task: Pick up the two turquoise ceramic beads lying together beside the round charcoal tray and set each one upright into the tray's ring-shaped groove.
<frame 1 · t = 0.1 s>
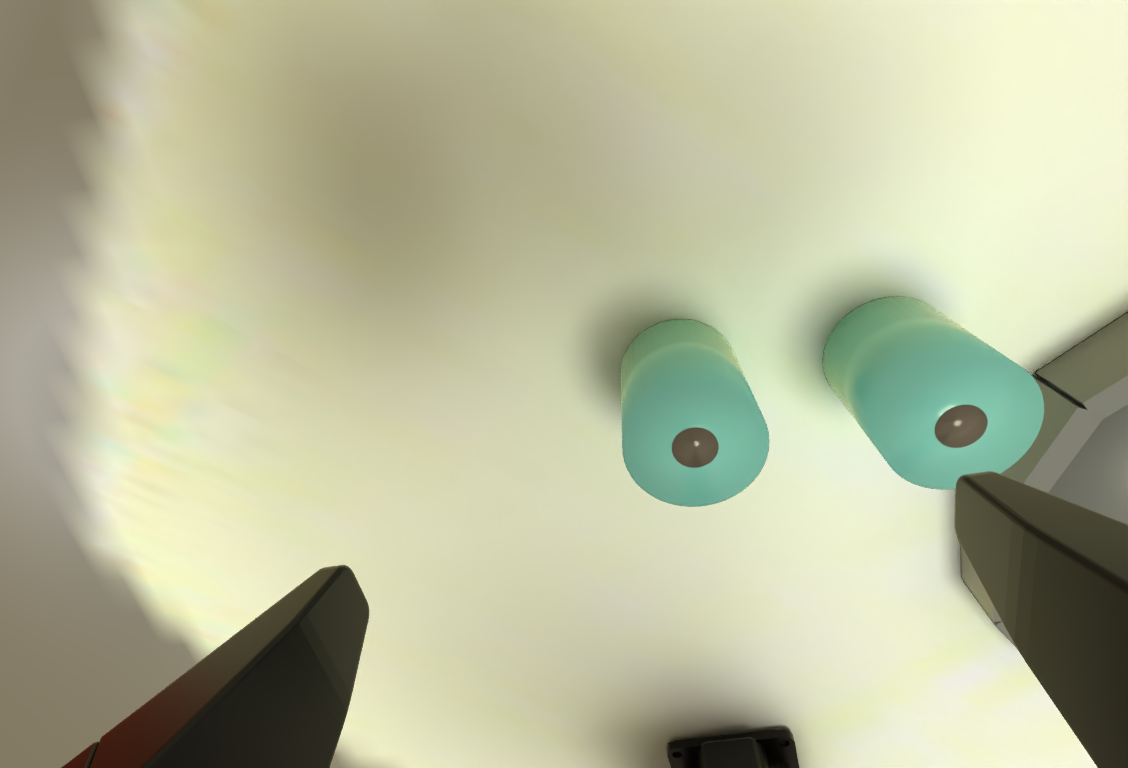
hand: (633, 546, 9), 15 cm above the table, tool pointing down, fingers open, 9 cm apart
bead a: (884, 353, 23), on the table
bead b: (677, 373, 24), on the table
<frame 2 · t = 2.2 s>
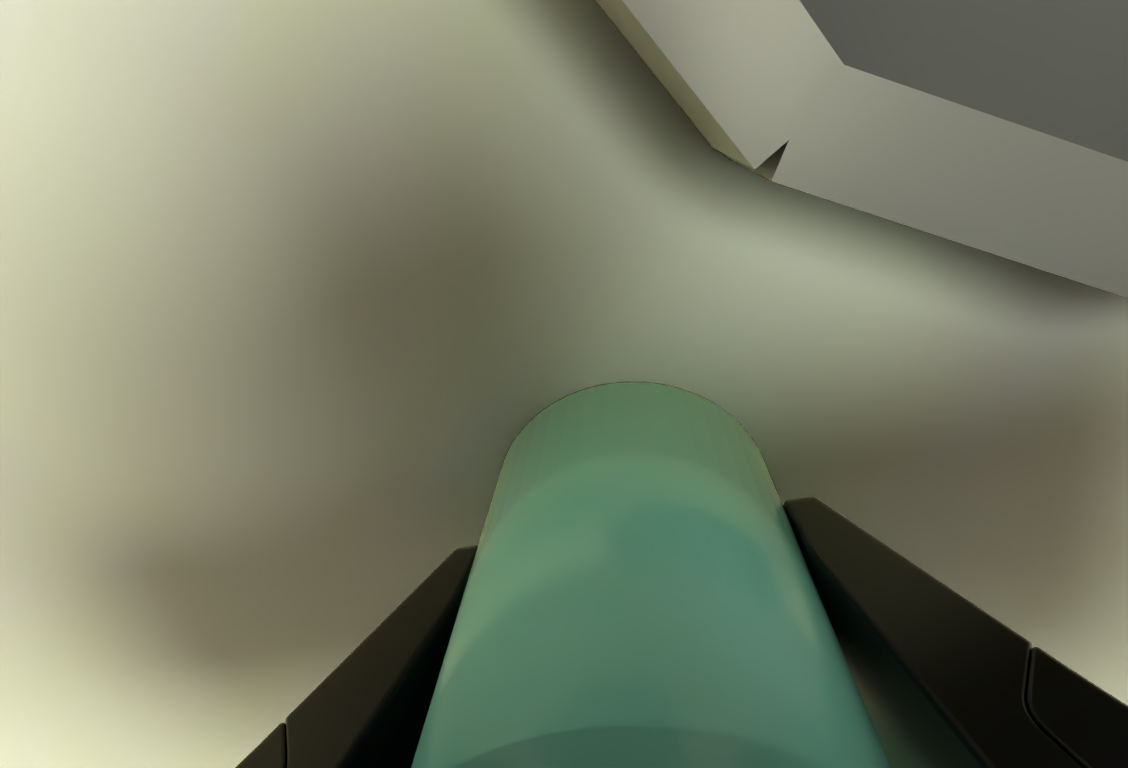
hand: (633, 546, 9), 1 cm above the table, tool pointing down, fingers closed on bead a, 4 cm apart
bead a: (631, 503, 10), on the table, touching gripper
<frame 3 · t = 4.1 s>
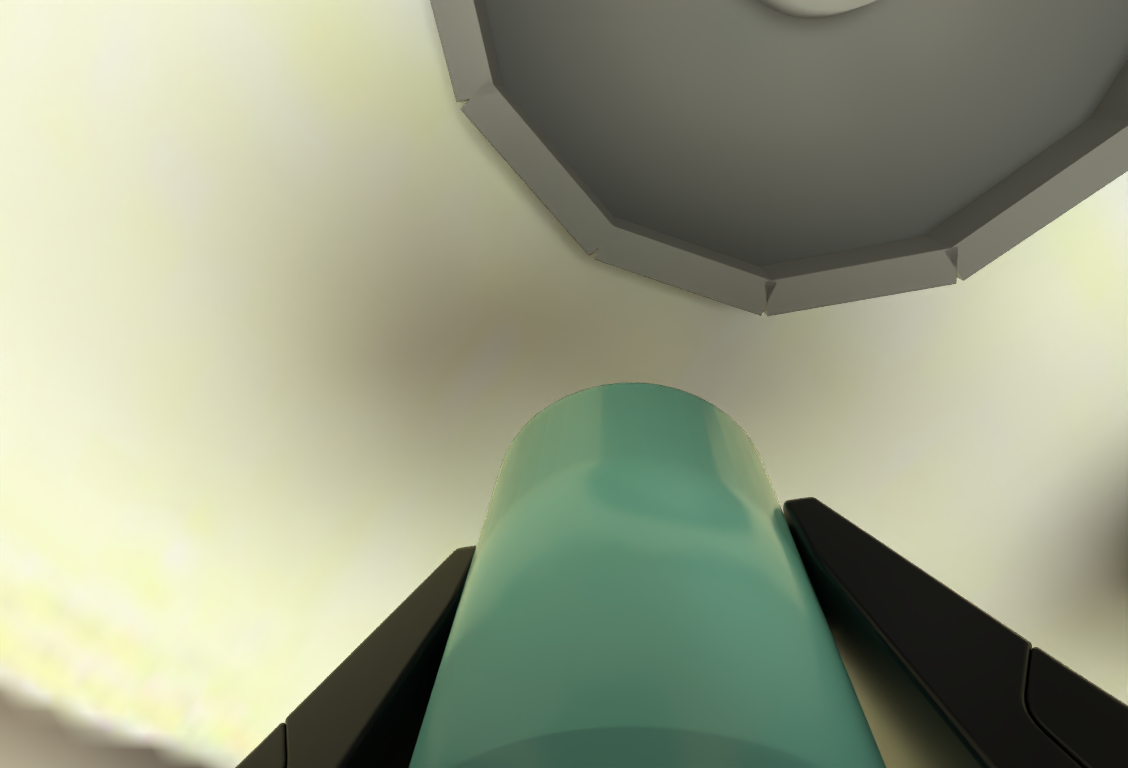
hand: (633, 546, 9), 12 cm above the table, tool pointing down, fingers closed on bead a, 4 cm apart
bead a: (629, 504, 10), point 11 cm above the table, touching gripper
when the fingers open (4 cm above the table, at t = 6.3 s): bead a drops 2 cm, resting on tray.
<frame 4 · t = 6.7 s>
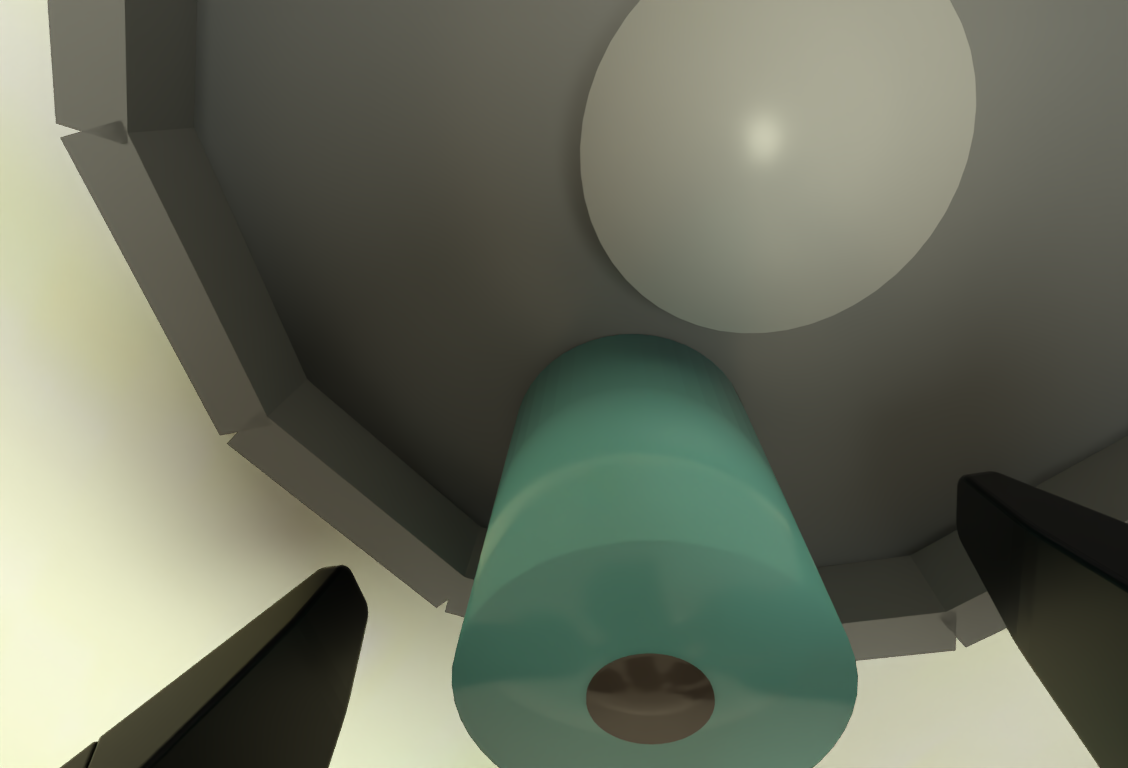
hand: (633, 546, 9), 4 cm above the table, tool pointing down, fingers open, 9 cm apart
tray: (735, 141, 10), on the table
bead a: (629, 441, 12), point 1 cm above the table, touching tray
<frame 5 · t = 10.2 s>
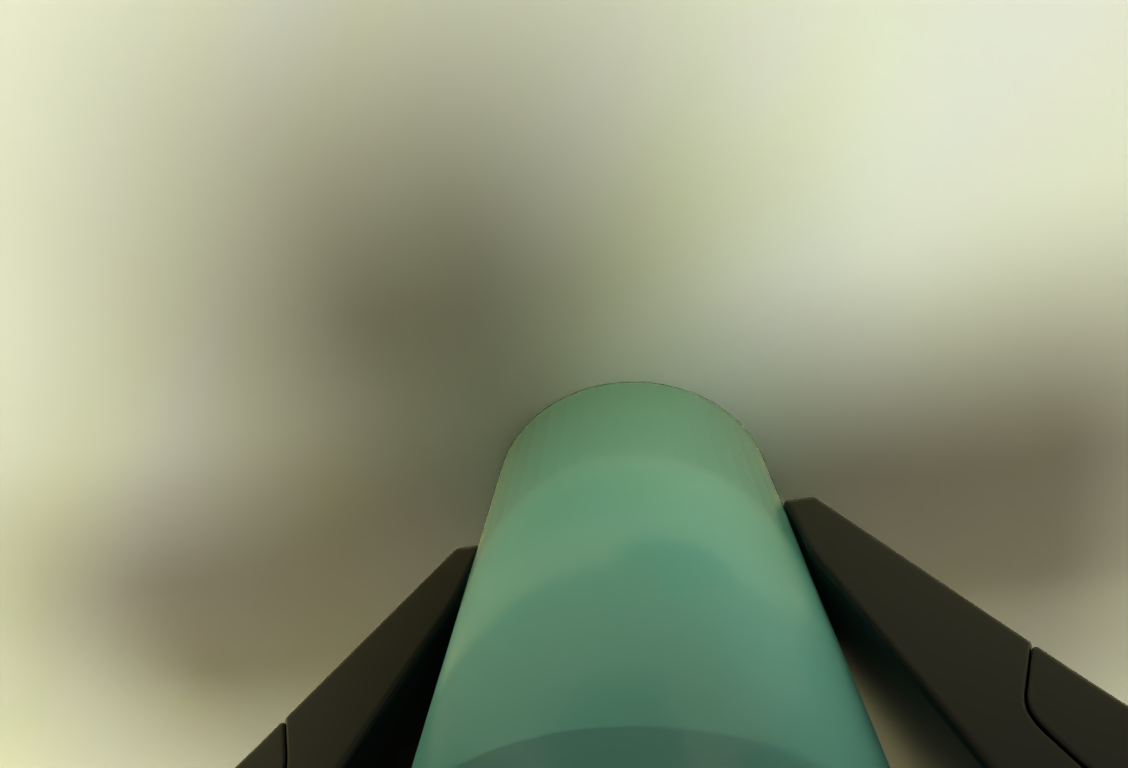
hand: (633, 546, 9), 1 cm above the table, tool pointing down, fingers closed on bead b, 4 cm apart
bead b: (631, 503, 10), on the table, touching gripper
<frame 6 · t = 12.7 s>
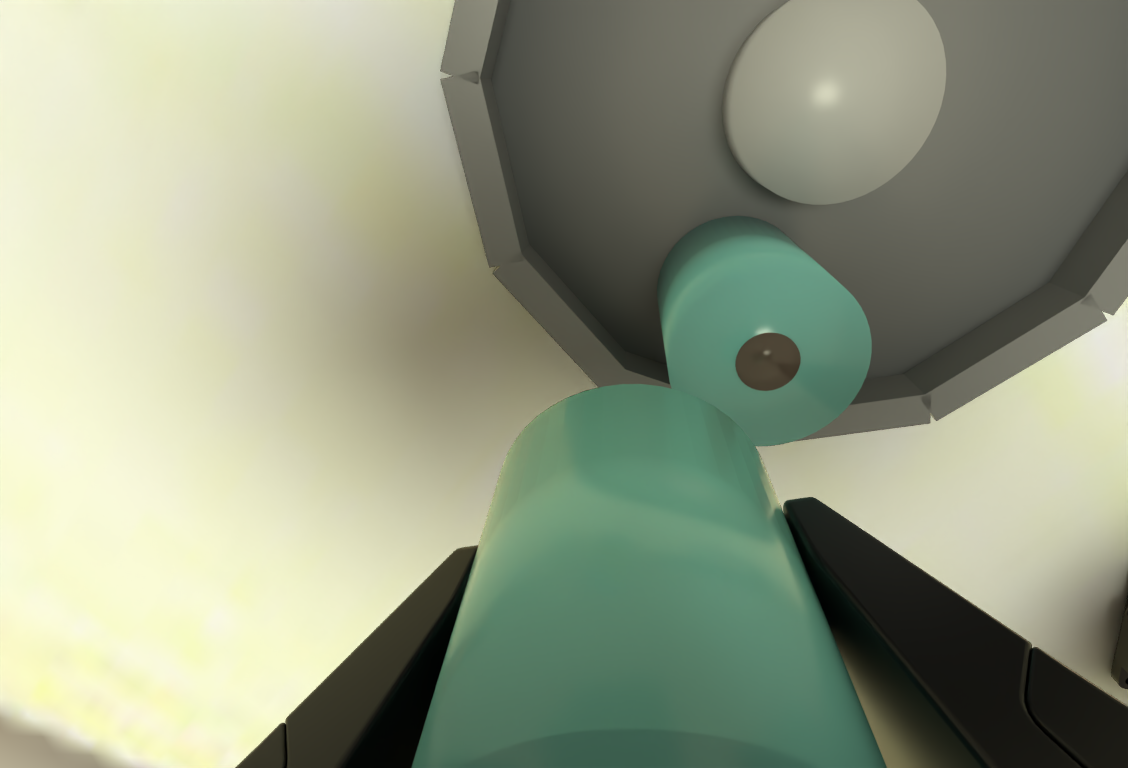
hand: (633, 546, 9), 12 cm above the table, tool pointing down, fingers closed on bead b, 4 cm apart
tray: (807, 99, 17), on the table
bead a: (729, 289, 19), point 1 cm above the table, touching tray
bead b: (630, 505, 10), point 11 cm above the table, touching gripper
when the fingers open (4 cm above the table, at t = 15.2 s): bead b drops 2 cm, resting on tray.
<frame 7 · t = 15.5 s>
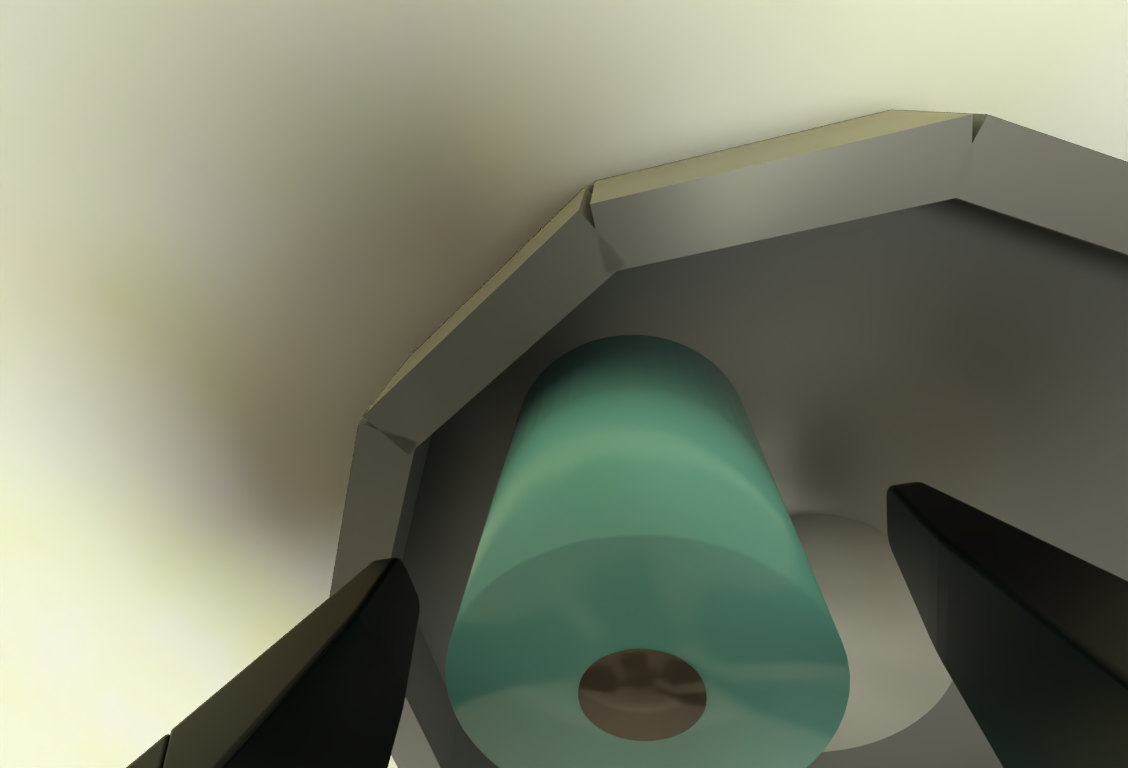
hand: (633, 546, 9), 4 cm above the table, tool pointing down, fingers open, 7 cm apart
tray: (786, 576, 14), on the table
bead b: (630, 442, 12), point 1 cm above the table, touching tray
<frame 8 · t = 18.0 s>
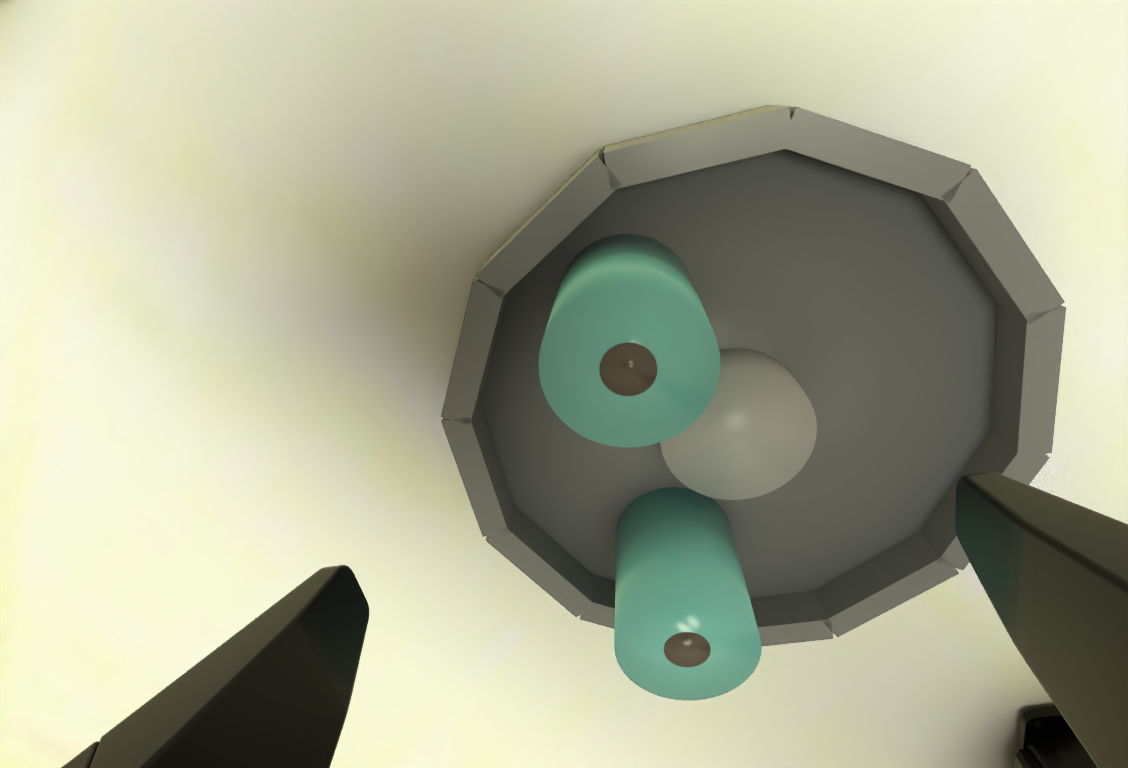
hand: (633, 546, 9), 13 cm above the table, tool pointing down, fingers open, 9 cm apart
tray: (724, 402, 22), on the table
bead a: (672, 535, 24), point 1 cm above the table, touching tray
bead b: (625, 302, 20), point 1 cm above the table, touching tray
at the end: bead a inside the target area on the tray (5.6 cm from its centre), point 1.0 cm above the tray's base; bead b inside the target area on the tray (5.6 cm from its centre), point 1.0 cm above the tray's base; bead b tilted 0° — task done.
